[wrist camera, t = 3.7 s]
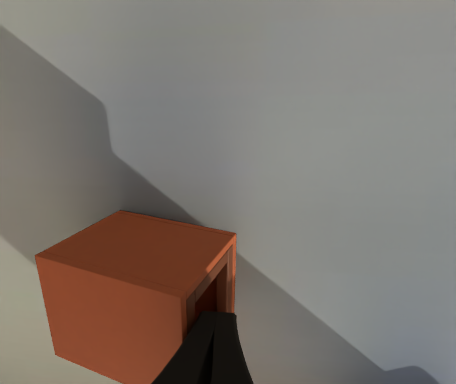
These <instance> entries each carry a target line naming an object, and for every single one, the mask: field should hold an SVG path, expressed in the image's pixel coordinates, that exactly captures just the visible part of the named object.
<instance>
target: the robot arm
mask: <svg viewBox="0 0 456 384" xmlns="http://www.w3.org/2000/svg"><path fill="white" fill-rule="evenodd" d="M151 384H253V381H252V378H251V376H250V373H249V370H248V368H247V365H246V362H245V358H244V355H243V352H242V348H241V345H240V341H239V336H238V331H237V323H236V315H235V314H234V313H228V312H213V311H202V312H200V313H199V316H198V318H197V320H196V321H195V323H194V325H193V327H192V328H191V330H190V332H189V333H188V335H187V337H186V338H185V340H184V341H183V343H182V344H181V345H180V347H179V348H178V350H177V351H176V353H175V354H174V356H173V357H172V358H171V359H170V361H169V362H168V363H167V365H166V366H165V367H164V368H163V370H162V371H161V372H160V374H159V375H158V376H157V377H156V378H155V379H154V381H153V382H152V383H151Z"/></svg>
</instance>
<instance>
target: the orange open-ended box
mask: <svg viewBox="0 0 456 384" xmlns="http://www.w3.org/2000/svg"><path fill="white" fill-rule="evenodd" d="M35 259H36V264H37V269H38V274H39V278H40V283H41V288H42V293H43V298H44V303H45V307H46V312H47V317H48V322H49V327H50V332H51V337H52V341H53V346H54V351H55V355H57V356H59V357H61V358H64V359H66V360H68V361H71V362H73V363H75V364H78V365H80V366H83V367H85V368H87V369H90V370H92V371H94V372H97V373H99V374H101V375H104V376H106V377H108V378H111V379H113V380H116V381H118V382H120V383H123V384H151V383H152V382H153V381H154V379H155V378H156V377H157V376H158V375H159V374H160V372H161V371H162V370H163V368H164V367H165V366H166V365H167V363H168V362H169V361H170V359H171V358H172V357H173V356H174V354H175V353H176V351H177V350H178V348H179V347H180V345H181V344H182V343H183V341H184V340H185V338H186V337H187V335H188V333H189V332H190V330H191V328H192V327H193V325H194V323H195V321H196V320H197V318H198V316H199V313H200V312H202V311H213V312H228V313H234V300H235V263H236V233H233V232H228V231H223V230H218V229H213V228H208V227H203V226H198V225H192V224H187V223H182V222H177V221H172V220H167V219H162V218H157V217H152V216H147V215H142V214H137V213H132V212H126V211H121V210H120V211H118V212H116V213H114V214H112V215H110V216H108V217H106V218H104V219H103V220H101V221H99V222H97V223H95V224H93V225H91V226H89V227H88V228H86V229H84V230H82V231H80V232H78V233H76V234H74V235H72V236H71V237H69V238H67V239H65V240H63V241H61V242H59V243H57V244H55V245H54V246H52V247H50V248H48V249H46V250H44V251H43V252H40V253H38V254H37V255H35Z"/></svg>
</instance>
